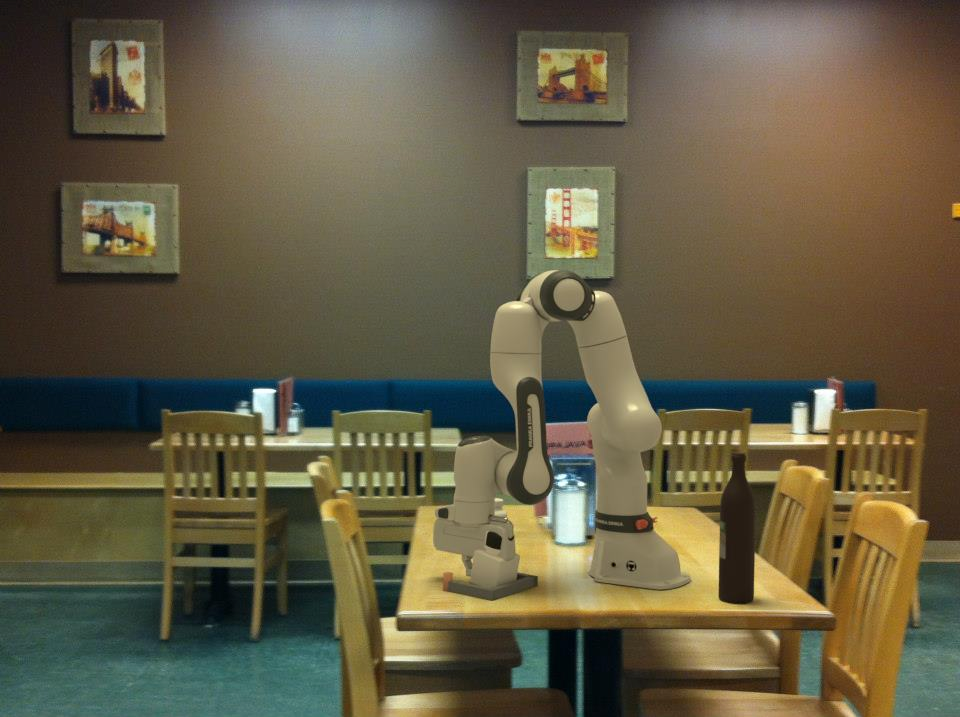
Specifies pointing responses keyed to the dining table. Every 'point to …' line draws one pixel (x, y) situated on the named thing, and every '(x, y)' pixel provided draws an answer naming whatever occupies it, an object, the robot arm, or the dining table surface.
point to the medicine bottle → (493, 564)
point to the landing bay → (489, 593)
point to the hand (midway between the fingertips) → (473, 576)
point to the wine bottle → (737, 536)
